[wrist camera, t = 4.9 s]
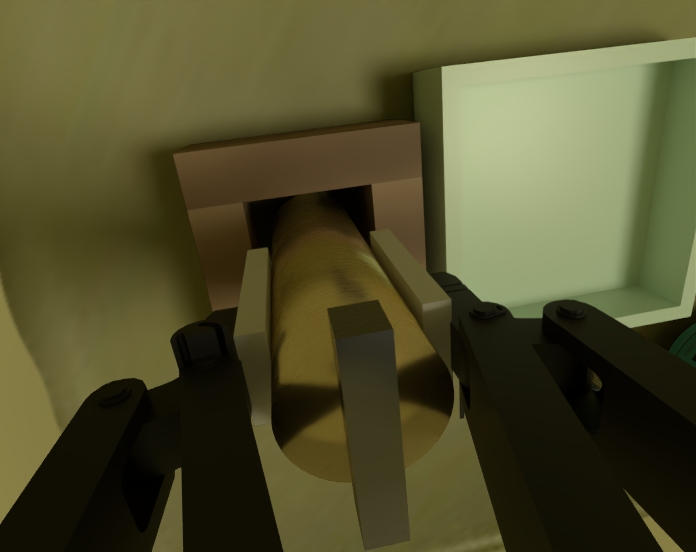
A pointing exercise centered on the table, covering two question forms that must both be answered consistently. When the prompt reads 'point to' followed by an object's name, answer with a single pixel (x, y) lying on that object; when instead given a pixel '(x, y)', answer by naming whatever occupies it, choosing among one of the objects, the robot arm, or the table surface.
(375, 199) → the block
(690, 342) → the beverage bottle
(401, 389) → the amber rounded cylinder
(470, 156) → the tray
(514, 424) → the robot arm
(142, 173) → the table surface
